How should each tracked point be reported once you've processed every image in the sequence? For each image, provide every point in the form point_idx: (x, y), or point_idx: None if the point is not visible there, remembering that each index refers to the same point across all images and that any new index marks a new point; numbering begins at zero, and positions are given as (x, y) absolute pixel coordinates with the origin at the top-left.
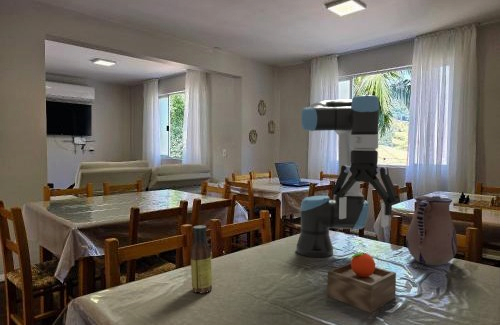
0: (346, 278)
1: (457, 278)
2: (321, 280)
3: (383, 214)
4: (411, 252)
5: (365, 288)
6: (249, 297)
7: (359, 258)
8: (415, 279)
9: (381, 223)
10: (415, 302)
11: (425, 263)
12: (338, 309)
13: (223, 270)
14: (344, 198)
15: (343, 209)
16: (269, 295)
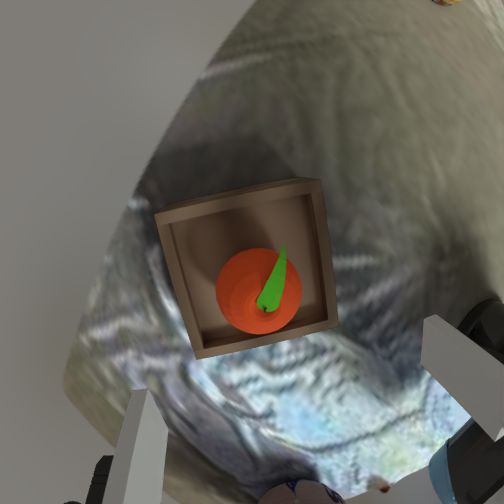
0: (244, 193)
1: (211, 478)
2: (375, 235)
3: (118, 447)
4: (316, 485)
5: (175, 207)
6: (377, 22)
7: (254, 274)
8: (248, 428)
9: (141, 402)
10: (160, 342)
11: (286, 482)
12: (222, 145)
13: (499, 85)
14: (498, 419)
15: (455, 368)
16: (368, 59)
